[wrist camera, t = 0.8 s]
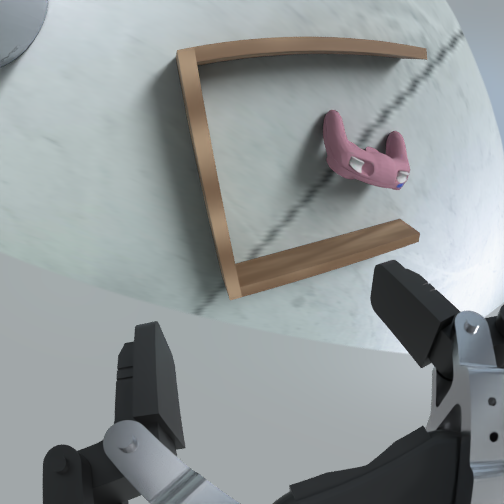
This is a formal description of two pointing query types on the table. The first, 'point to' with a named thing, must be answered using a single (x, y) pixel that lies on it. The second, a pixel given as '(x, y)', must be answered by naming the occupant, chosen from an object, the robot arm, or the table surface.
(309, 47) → the wooden u-shaped frame
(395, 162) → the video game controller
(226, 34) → the table surface
